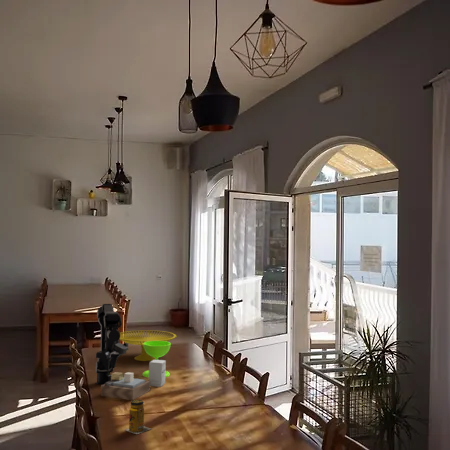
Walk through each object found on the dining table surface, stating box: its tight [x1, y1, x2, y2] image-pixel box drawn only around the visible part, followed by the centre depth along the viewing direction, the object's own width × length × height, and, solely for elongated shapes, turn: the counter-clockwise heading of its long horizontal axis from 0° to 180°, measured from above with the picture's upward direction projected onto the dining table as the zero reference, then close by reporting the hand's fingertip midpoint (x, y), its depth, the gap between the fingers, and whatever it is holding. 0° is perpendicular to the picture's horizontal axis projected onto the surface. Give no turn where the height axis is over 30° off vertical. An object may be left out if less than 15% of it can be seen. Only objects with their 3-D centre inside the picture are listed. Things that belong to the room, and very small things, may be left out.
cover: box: [112, 371, 145, 388], centre depth 282 cm, size 12×12×5 cm
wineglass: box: [141, 341, 172, 379], centre depth 321 cm, size 16×16×18 cm
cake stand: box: [119, 329, 177, 362], centre depth 361 cm, size 40×40×15 cm
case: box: [100, 375, 151, 401], centre depth 282 cm, size 18×18×6 cm
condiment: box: [125, 399, 152, 435], centre depth 230 cm, size 7×8×12 cm
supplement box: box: [148, 359, 167, 388], centre depth 300 cm, size 7×7×13 cm
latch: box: [110, 371, 124, 381], centre depth 284 cm, size 4×4×3 cm
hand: (110, 369), depth 278 cm, fingers open, 5 cm apart
